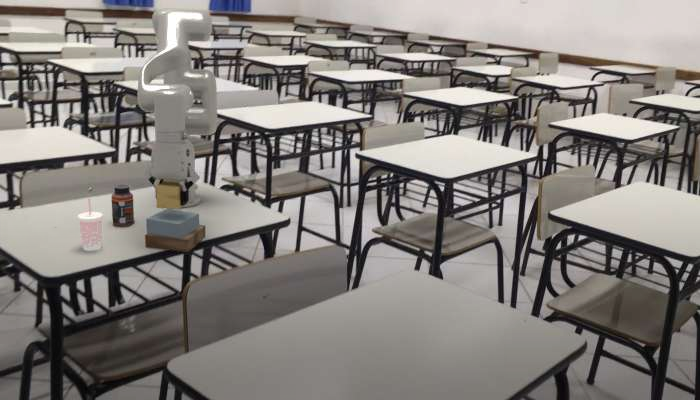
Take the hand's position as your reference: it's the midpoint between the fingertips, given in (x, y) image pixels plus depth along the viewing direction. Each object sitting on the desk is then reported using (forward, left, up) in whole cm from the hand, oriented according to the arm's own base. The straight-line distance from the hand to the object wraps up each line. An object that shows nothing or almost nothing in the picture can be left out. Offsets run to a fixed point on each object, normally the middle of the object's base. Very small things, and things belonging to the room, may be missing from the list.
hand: (172, 202), depth 185 cm
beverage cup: (+10, -18, -12) cm, 24 cm away
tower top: (0, 0, -8) cm, 8 cm away
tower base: (-1, 0, -12) cm, 12 cm away
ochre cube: (0, 0, -1) cm, 1 cm away
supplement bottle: (-10, -20, -12) cm, 25 cm away
